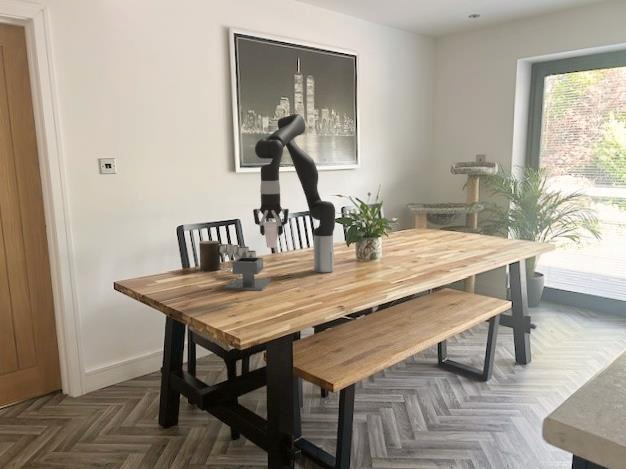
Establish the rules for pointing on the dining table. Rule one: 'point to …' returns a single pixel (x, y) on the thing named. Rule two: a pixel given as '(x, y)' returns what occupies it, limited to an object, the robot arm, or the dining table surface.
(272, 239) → the smoothie
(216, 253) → the pillar candle
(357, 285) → the dining table surface
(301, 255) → the dining table surface
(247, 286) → the stand
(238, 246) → the goblet set
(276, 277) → the dining table surface
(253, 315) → the dining table surface
